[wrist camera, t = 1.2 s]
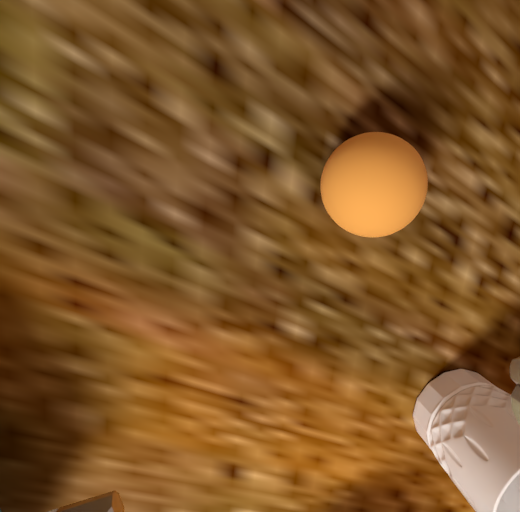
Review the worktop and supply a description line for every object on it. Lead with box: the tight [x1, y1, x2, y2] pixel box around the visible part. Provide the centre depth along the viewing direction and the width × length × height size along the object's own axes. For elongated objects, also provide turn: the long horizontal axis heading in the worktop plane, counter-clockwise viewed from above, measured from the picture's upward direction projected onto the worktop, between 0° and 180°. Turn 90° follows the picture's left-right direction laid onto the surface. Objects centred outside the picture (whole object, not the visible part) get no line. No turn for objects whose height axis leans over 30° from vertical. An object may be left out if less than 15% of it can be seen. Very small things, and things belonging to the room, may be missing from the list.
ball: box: [321, 132, 428, 237], centre depth 28 cm, size 6×6×6 cm
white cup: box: [413, 369, 520, 512], centre depth 34 cm, size 8×8×10 cm
